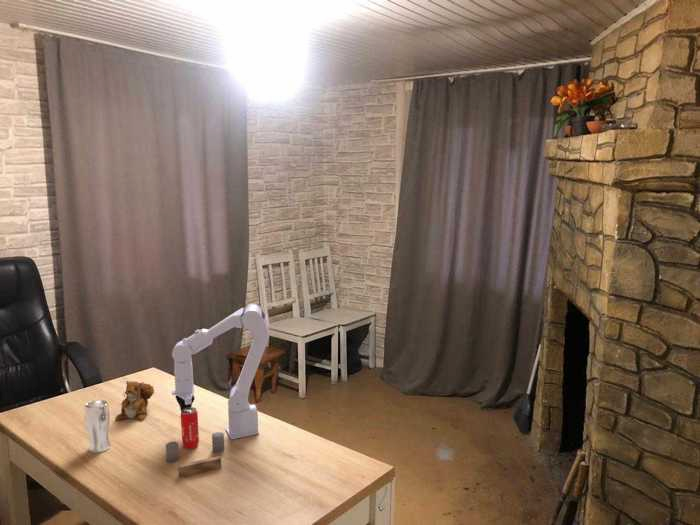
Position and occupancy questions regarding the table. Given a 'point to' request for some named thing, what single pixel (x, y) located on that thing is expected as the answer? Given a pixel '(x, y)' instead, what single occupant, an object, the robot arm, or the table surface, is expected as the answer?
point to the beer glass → (97, 425)
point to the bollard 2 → (218, 442)
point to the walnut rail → (199, 466)
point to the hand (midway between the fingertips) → (185, 416)
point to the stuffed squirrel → (135, 401)
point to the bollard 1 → (172, 452)
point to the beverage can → (189, 427)
